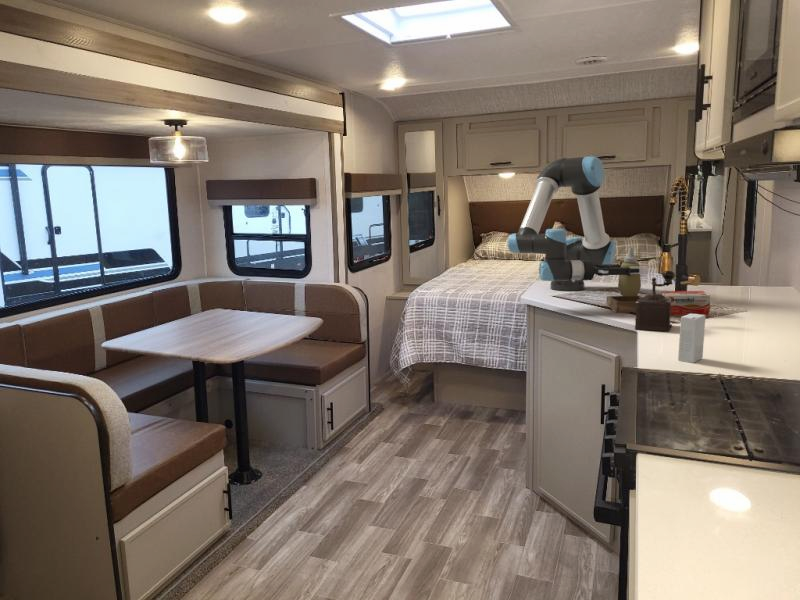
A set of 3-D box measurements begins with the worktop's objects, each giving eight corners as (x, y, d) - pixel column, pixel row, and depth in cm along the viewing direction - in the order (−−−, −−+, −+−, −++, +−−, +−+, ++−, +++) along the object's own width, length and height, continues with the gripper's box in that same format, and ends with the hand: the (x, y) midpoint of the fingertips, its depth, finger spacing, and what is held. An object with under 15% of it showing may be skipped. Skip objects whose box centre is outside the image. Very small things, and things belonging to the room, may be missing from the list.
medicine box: (664, 317, 220) (665, 294, 219) (658, 312, 228) (659, 291, 226) (709, 317, 217) (711, 294, 216) (702, 312, 225) (703, 290, 224)
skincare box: (686, 356, 169) (689, 312, 167) (703, 358, 166) (706, 314, 164) (677, 360, 165) (679, 316, 163) (694, 363, 162) (696, 318, 160)
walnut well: (606, 306, 241) (606, 296, 240) (640, 305, 241) (640, 295, 240) (616, 312, 228) (617, 302, 228) (652, 312, 228) (653, 301, 227)
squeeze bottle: (613, 295, 235) (614, 247, 232) (629, 293, 239) (630, 246, 236) (629, 298, 228) (630, 249, 225) (645, 296, 231) (647, 247, 228)
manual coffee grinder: (671, 332, 197) (673, 276, 193) (634, 329, 201) (636, 275, 198) (673, 322, 210) (675, 269, 207) (638, 320, 215) (640, 268, 212)
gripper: (574, 276, 242) (634, 275, 242) (588, 284, 223) (653, 282, 223) (575, 257, 241) (635, 256, 240) (589, 263, 222) (654, 261, 221)
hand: (643, 268), depth 231 cm, fingers closed on squeeze bottle, 6 cm apart
